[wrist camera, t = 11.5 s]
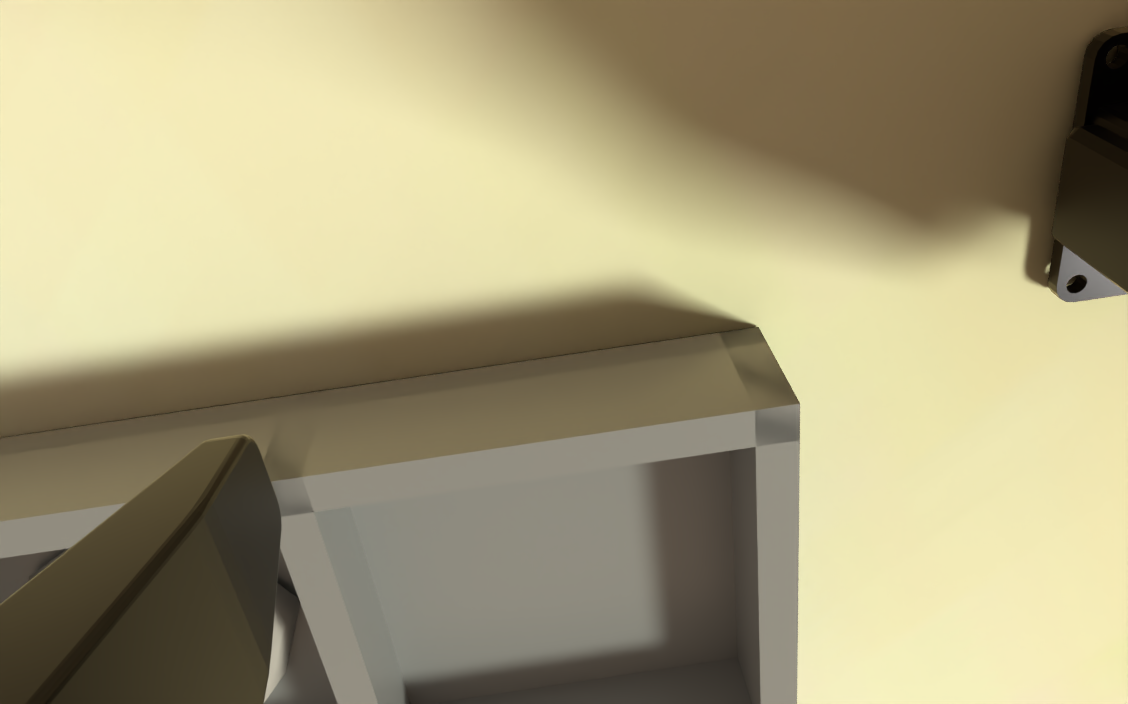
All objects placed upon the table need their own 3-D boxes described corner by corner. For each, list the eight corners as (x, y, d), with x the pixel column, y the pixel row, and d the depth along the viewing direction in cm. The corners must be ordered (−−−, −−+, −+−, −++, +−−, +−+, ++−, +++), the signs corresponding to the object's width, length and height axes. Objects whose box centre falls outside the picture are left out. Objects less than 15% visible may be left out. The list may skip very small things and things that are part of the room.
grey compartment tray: (758, 326, 24) (799, 403, 20) (763, 654, 30) (796, 750, 27) (-154, 460, 23) (-248, 558, 20) (41, 762, 29) (-9, 872, 26)
